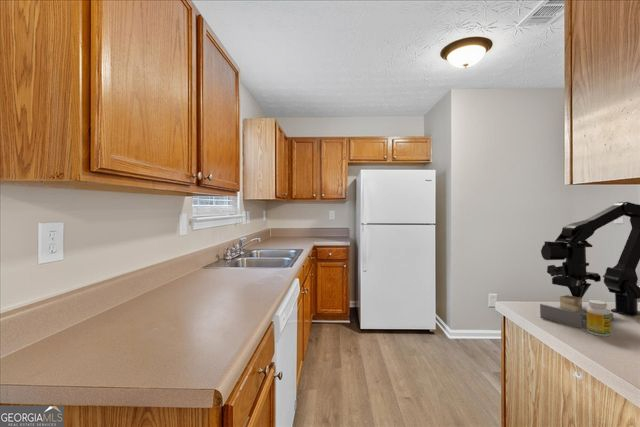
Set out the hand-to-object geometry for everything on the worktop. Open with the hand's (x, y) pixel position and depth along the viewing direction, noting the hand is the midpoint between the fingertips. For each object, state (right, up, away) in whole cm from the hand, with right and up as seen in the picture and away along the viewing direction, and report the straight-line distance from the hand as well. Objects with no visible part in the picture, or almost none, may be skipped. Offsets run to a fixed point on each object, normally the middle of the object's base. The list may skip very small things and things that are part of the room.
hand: (577, 302), depth 114 cm
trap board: (-5, -4, -5) cm, 8 cm away
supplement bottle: (-9, -4, -19) cm, 21 cm away
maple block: (-3, -2, -2) cm, 4 cm away
